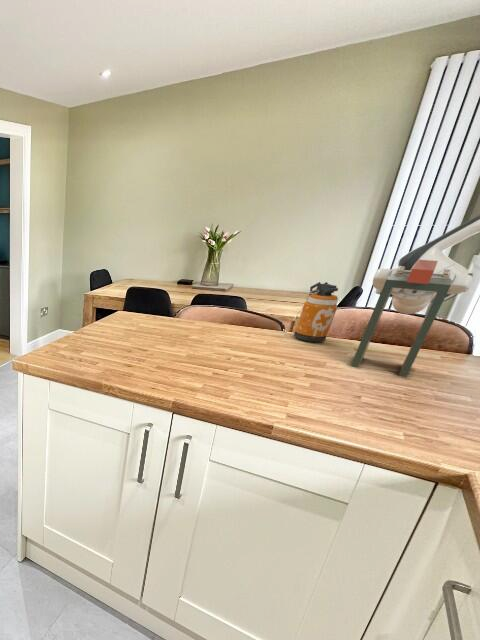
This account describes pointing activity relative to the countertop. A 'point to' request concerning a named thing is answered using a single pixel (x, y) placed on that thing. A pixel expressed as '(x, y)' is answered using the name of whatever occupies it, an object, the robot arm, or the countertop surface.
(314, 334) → the canister
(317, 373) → the countertop surface
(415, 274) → the red bar
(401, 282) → the dark green stand
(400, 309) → the robot arm
